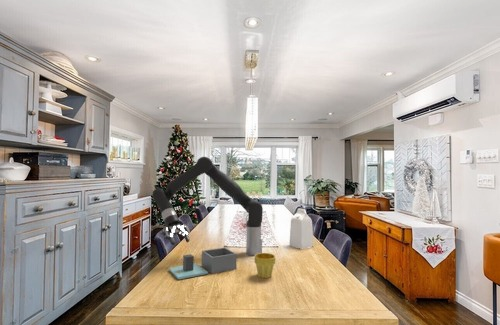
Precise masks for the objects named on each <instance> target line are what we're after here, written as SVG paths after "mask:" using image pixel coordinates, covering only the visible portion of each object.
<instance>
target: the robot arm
mask: <svg viewBox="0 0 500 325" xmlns="http://www.w3.org/2000/svg"><path fill="white" fill-rule="evenodd" d="M203 174H205V175H207V176H208V177H209V178H210V179H211V180H212V181H213V182H214V184H216V185H217V186H218V188H220V190H222V191H223V192H224V193H225V194H226V195H228V197H230V198H231V199H232V200H233V201H236V203H238V204H239V205H240V206H241V207H242V208H243V209H244V210H245V211H246V213H248V216H247V217H248V219H247V221H246V234H245V235H246V236H245V237H246V239H245V240H246V243H245V244H246V246H245V251H246V255H247V256H248V255H249V256H255V255H256V254H258V253H263V238H262V222H263V211H264V210H263V209H264V208H263V205H262V203H261V202H260V201H257V200H254V199H252V197H250V196H249V195H248V194H246V193H245V192H244V190H243V188H242V187H241V186H240V185H239V184H238V183H237V182H236V181H235V180H234V179H233V178H231V177H230V176H229V175H228V174H226V173H225V172H223V171H221V170H220V169H219V168H218V167H217V166H216V165H215V164H214V163H213V160H212V159H211V158H210V157H208V156H202V157H199V158H198V159H197V160H196V163H195V164H194V165H193V166H192V167H190V168H189V169H188V170H186V171H185V172H182V173H181V174H179V175H178V176H176V177H175V178H173V179H172V180H171V181H170V182H167V184H166V189H165V190H164V189H163V188H160V187H157V188H155V189H154V190H153V192H152V199H153V201H154V202H155V204H156V206H157V207H158V209H159V211H160V213H161V218H162V220H163V222H164V225H165V226H164V227H163V229H161V230H162V234H163V237H164V239H165V240H169V242H170V244H171V245H172V246H174V245H176V240H175V239H174V236H176V235H180V236H183V237H184V239H185V242H186V243H189V242H190V237H189V234H190V233H191V231H190V229H189V227H188V226H187V223H185V224H183V225H182V224H181V221H180V220H179V217H178V215H177V213H176V211H175V209H174V207H173V205H172V203H171V201H170V200H171V198H172V197H174V195H175V194H176V193H177V192H179V191H180V190H181V189H183V188H184V187H185V186H187V185H188V184H189V183H190V182H192V181H193V180H194V179H196V178H199V176H201V175H203Z"/></svg>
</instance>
